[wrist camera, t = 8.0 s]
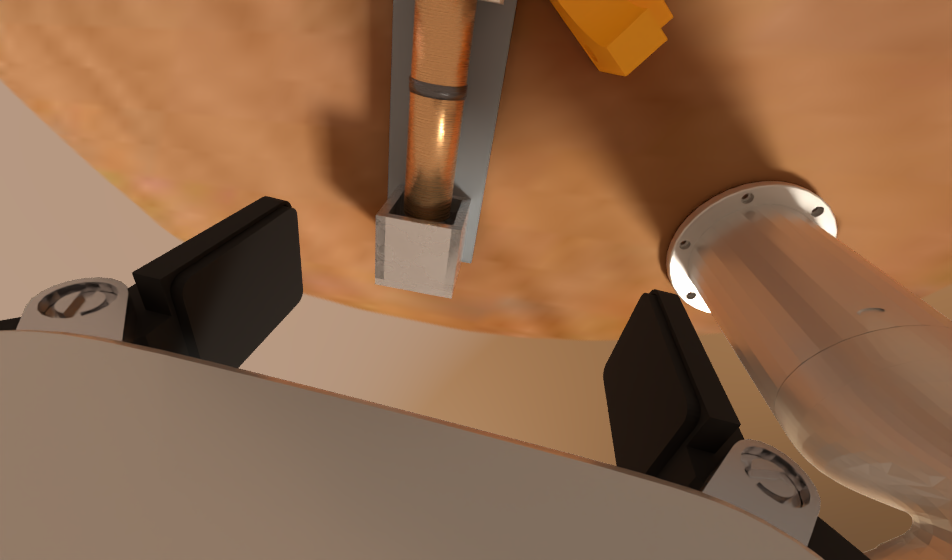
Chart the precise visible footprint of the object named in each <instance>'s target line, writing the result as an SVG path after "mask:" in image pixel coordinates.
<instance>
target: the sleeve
mask: <svg viewBox="0 0 952 560" xmlns="http://www.w3.org/2000/svg"><path fill="white" fill-rule="evenodd" d="M404 193H405V186H401V185H398V187H397V188H396V189H395V191H394V192H393V193H392V194H391V196H390V197H389V198H388V200H387V201H386V202H385V204H384V205H383V206H382V208H381V209H380V210H379V212H378V213H377V214H376V253H375V284H377V285H383V286H388V287H393V288H398V289H404V290H409V291H414V292H419V293H425V294H430V295H435V296H440V297H446V298H452V295H453V291H454V287H455V283H456V280H457V276H458V272H459V269H460V265H461V261H462V255H463V249H464V243H465V236H466V230H467V224H468V217H469V211H470V204H471V199H469V198H464V197H459V196H453V195H452V203H451V210H450V217H449V218H448V219H447V220H445V221H443V222H439V223H437V222H431V221H426V220H421V219H415V218H410V217H408V216H406V215H405V213H404Z"/></svg>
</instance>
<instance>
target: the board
mask: <svg viewBox="0 0 952 560" xmlns="http://www.w3.org/2000/svg"><path fill="white" fill-rule="evenodd" d="M516 5H517V0H504V5H503V4H497V3H492V2H487V1H481V0H477V7H476V14H475V22H474V30H473V38H472V46H471V54H470V61H469V69H468V77H467V84H468V89H467V97H466V99H465V101H464V108H463V116H462V124H461V132H460V140H459V148H458V156H457V163H456V171H455V179H454V187H453V196H459V197H464V198H469V199H471V204H470V211H469V217H468V224H467V230H466V236H465V243H464V249H463V255H462V261H461V262H467V263H471V261H472V257H473V251H474V246H475V240H476V234H477V228H478V223H479V217H480V211H481V206H482V200H483V194H484V188H485V183H486V177H487V171H488V166H489V160H490V154H491V148H492V143H493V137H494V131H495V125H496V120H497V114H498V108H499V103H500V97H501V91H502V85H503V80H504V74H505V68H506V63H507V57H508V51H509V45H510V40H511V34H512V28H513V22H514V17H515V11H516ZM414 8H415V0H393V28H392V63H391V98H390V133H389V168H388V198H389V197H390V196H391V194H392V193H393V192H394V191H395V189H396V188H397V187H398V185H401V186H405V175H406V156H407V138H408V119H409V101H410V91H409V75H411V64H412V45H413V27H414Z"/></svg>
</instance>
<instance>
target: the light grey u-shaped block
mask: <svg viewBox="0 0 952 560" xmlns="http://www.w3.org/2000/svg"><path fill="white" fill-rule="evenodd" d="M481 1H487V2H492V3H497V4H503V5H504V0H481Z"/></svg>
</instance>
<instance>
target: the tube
mask: <svg viewBox="0 0 952 560" xmlns="http://www.w3.org/2000/svg"><path fill="white" fill-rule="evenodd" d="M476 7H477V0H415V8H414V27H413V45H412V64H411V75H409V91H410V101H409V119H408V138H407V156H406V175H405V193H404V213H405V215H406V216H408V217H410V218H415V219H421V220H426V221H431V222H437V223H439V222H443V221H445V220H447V219H448V218H449V217H450V210H451V203H452V195H453V187H454V179H455V171H456V163H457V156H458V148H459V140H460V132H461V124H462V116H463V108H464V101H465V99H466V97H467V89H468V84H467V77H468V69H469V61H470V54H471V46H472V38H473V30H474V22H475V14H476Z"/></svg>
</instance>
